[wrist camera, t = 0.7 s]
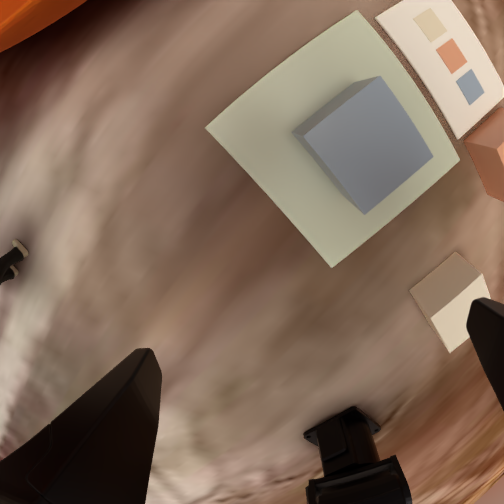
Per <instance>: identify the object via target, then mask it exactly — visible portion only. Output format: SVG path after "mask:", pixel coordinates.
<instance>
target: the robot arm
mask: <svg viewBox="0 0 504 504" xmlns="http://www.w3.org/2000/svg"><path fill="white" fill-rule="evenodd" d="M466 328H467V332H468V334H469V336H470V338H471V341H472V343H473V345H474V348H475V350H476V352H477V355H478V357H479V360H480V362H481V365H482V367H483V369H484V371H485V373H486V376H487V378H488V380H489V381H490V383H491V385H492V387H493V390H494V392H495V394H496V396H497V398H498V400H499V402H500V404H501V406H502V408H503V411H504V304H502V303H499V302H496V301H494V300H491V299H488V298H486V297H481V298H478V299H474V300H473V301H472V303H471V306H470V310H469V314H468V318H467V322H466ZM161 384H162V373H161V369H160V367H159V364H158V362H157V359H156V357H155V354H154V352H153V350H152V349H150V348H138V349H136V350H134V351H133V352H132V353H131V354H130V355H128V356H127V357H126V358H125V359H124V360H123V361H121V362H120V363H119V364H118V365H117V366H116V367H114V368H113V369H112V370H111V371H110V372H109V373H107V374H106V375H105V376H104V377H103V378H102V379H100V380H99V381H98V382H97V383H96V384H95V385H93V386H92V387H91V388H90V389H89V390H88V391H87V392H85V393H84V394H83V395H82V396H81V397H80V398H78V399H77V400H76V401H75V402H74V403H73V404H71V405H70V406H69V407H68V408H67V409H66V410H64V411H63V412H62V413H61V414H60V415H59V416H57V417H56V418H55V419H54V420H53V421H52V422H51V424H48V425H47V426H46V427H44V428H43V429H42V430H41V431H40V432H39V433H37V434H36V435H35V436H34V437H33V438H31V439H30V440H29V441H28V442H26V443H25V444H24V445H22V446H21V447H20V448H18V449H17V450H16V451H14V452H13V453H11V454H10V455H9V456H7V457H6V458H4V459H3V460H1V461H0V504H145V501H146V494H147V488H148V482H149V476H150V470H151V464H152V458H153V453H154V447H155V442H156V436H157V431H158V423H159V410H160V397H161ZM380 430H381V428H380V426H379V425H378V424H377V423H376V422H374V421H373V420H372V419H371V418H369V417H368V416H367V415H366V414H364V413H363V412H362V411H361V410H359V409H358V408H357V407H352V408H350V409H348V410H346V411H344V412H343V413H341V414H339V415H337V416H335V417H334V418H332V419H330V420H328V421H326V422H324V423H323V424H321V425H319V426H317V427H315V428H313V429H311V430H309V431H307V432H305V433H304V439H306V440H308V441H309V442H311V443H313V444H315V445H317V446H318V447H319V452H320V458H321V461H322V467H323V473H324V477H323V478H319V479H311V480H309V486H307V487H306V496H307V504H412V498H411V493H410V489H409V486H408V483H407V480H406V478H405V476H404V473H403V471H402V469H401V467H400V464H399V462H398V460H397V457H396V455H393V456H391V457H390V458H387V459H384V460H382V461H380V458H379V455H378V452H377V449H376V446H375V442H374V439H373V436H372V435H373V434H375V433H377V432H379V431H380Z"/></svg>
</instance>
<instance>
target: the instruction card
mask: <svg viewBox="0 0 504 504" xmlns="http://www.w3.org/2000/svg"><path fill="white" fill-rule="evenodd" d="M374 19H375V20H376V21H377V22H378V23H379V25H380V26H381V27H382V28H383V29H384V31H385V32H386V33H387V34H388V36H389V37H390V38H391V39H392V41H393V42H394V43H395V45H396V46H397V47H398V48H399V50H400V51H401V52H402V54H403V55H404V56H405V58H406V59H407V61H408V62H409V63H410V65H411V66H412V68H413V69H414V70H415V72H416V73H417V75H418V76H419V78H420V79H421V81H422V82H423V84H424V85H425V87H426V88H427V90H428V91H429V93H430V94H431V96H432V98H433V99H434V101H435V102H436V104H437V106H438V107H439V109H440V111H441V112H442V114H443V116H444V118H445V119H446V121H447V123H448V125H449V126H450V128H451V130H452V132H453V134H454V135H455V137H456V139H459V138H460V137H461V136H462V135H464V134H465V133H466V132H467V131H468V130H469V129H470V128H471V127H472V126H474V125H475V124H476V123H477V122H478V121H479V120H480V119H481V118H482V117H483V116H484V115H485V114H487V113H488V112H489V111H490V110H491V109H492V108H493V107H494V106H495V105H496V104H497V103H498V102H499V101H500V100H501V99H503V98H504V85H503V83H502V81H501V79H500V77H499V75H498V74H497V72H496V70H495V68H494V66H493V64H492V62H491V61H490V59H489V57H488V55H487V54H486V52H485V50H484V48H483V47H482V45H481V43H480V42H479V40H478V39H477V37H476V35H475V34H474V32H473V31H472V29H471V28H470V26H469V25H468V23H467V22H466V20H465V19H464V17H463V16H462V14H461V13H460V11H459V10H458V9H457V7H456V6H455V5H454V3H453V2H452V1H451V0H403V1H401V2H399V3H398V4H396V5H394V6H393V7H391V8H389V9H388V10H386V11H384V12H383V13H381V14H380V15H378V16H377V17H375V18H374Z"/></svg>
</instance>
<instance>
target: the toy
mask: <svg viewBox="0 0 504 504" xmlns="http://www.w3.org/2000/svg"><path fill="white" fill-rule="evenodd" d="M12 245H13V247H14V248H13V249H12V250H11V251H10V252H8V253H7V254H5V255H4V256H2V257H1V258H0V284H1V283H2V282H4V281H7V280H9V279H14V277H15V276H16V275H18V270H17V269H16V268H15V267H14V266H13V264H15V263H17V262H19V261H22V260H23V258H24V257H26V256H27V255H28V251H27V250H26V249H25V247H24V246H23V245H22V244H21V243H20V242H19V241H18V240H16V239H15V240H13V241H12Z"/></svg>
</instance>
